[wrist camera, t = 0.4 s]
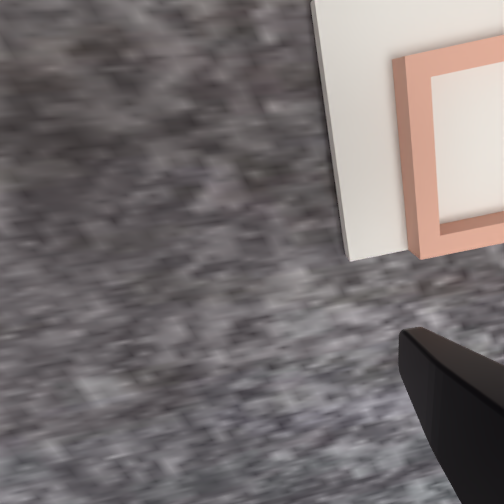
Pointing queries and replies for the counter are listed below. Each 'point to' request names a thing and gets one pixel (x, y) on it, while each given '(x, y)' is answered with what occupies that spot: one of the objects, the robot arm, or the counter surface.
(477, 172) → the board
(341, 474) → the counter surface
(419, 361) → the robot arm
